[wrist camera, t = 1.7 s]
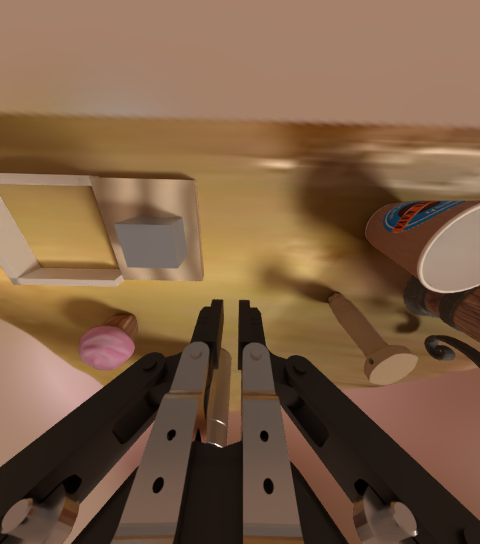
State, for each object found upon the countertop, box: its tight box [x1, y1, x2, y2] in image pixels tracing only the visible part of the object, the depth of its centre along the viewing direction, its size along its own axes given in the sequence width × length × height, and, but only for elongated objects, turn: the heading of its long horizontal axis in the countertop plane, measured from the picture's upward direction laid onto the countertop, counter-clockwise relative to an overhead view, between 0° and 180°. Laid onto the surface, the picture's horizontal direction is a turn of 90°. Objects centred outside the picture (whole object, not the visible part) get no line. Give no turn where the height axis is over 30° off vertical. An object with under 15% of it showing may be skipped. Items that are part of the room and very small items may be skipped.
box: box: [0, 173, 124, 287], centre depth 27 cm, size 17×16×4 cm
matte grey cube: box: [114, 217, 187, 269], centre depth 25 cm, size 7×6×5 cm
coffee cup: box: [365, 201, 480, 293], centre depth 23 cm, size 10×10×12 cm
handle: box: [328, 293, 418, 385], centre depth 28 cm, size 5×6×15 cm
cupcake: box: [78, 315, 138, 370], centre depth 34 cm, size 9×9×10 cm
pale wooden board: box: [89, 177, 204, 281], centre depth 28 cm, size 14×16×2 cm
